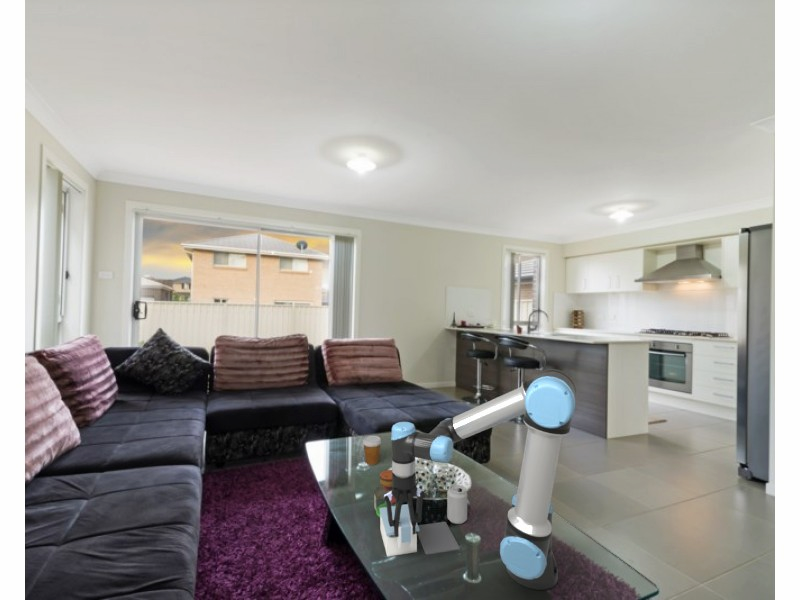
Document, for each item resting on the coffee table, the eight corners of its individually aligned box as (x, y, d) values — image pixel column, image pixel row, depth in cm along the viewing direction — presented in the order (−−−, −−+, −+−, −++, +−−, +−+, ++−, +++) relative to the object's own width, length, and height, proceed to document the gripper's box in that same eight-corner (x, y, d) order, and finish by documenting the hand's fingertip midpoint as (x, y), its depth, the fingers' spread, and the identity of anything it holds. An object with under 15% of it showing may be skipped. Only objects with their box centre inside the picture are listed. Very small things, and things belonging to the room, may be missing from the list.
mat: (460, 549, 127) (460, 548, 127) (425, 554, 124) (425, 553, 124) (445, 522, 142) (445, 521, 142) (414, 527, 139) (414, 525, 139)
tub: (416, 551, 126) (416, 534, 126) (387, 556, 124) (387, 538, 124) (407, 526, 140) (407, 510, 139) (380, 530, 137) (380, 513, 137)
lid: (423, 539, 121) (422, 524, 121) (389, 545, 118) (388, 529, 118) (408, 506, 140) (408, 492, 140) (379, 510, 138) (379, 496, 137)
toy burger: (408, 504, 154) (408, 467, 153) (399, 522, 142) (399, 483, 141) (380, 500, 157) (380, 464, 157) (370, 517, 145) (369, 479, 144)
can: (466, 526, 139) (466, 494, 139) (446, 524, 141) (446, 492, 140) (467, 514, 147) (467, 484, 146) (448, 512, 148) (448, 482, 148)
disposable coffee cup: (360, 459, 194) (360, 436, 194) (378, 457, 197) (378, 434, 197) (364, 468, 185) (364, 443, 185) (383, 465, 188) (383, 441, 188)
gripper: (424, 464, 126) (425, 533, 127) (377, 469, 123) (378, 540, 124) (431, 474, 119) (432, 548, 120) (380, 480, 116) (382, 556, 116)
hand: (405, 544), depth 122 cm, fingers closed on lid, 3 cm apart
